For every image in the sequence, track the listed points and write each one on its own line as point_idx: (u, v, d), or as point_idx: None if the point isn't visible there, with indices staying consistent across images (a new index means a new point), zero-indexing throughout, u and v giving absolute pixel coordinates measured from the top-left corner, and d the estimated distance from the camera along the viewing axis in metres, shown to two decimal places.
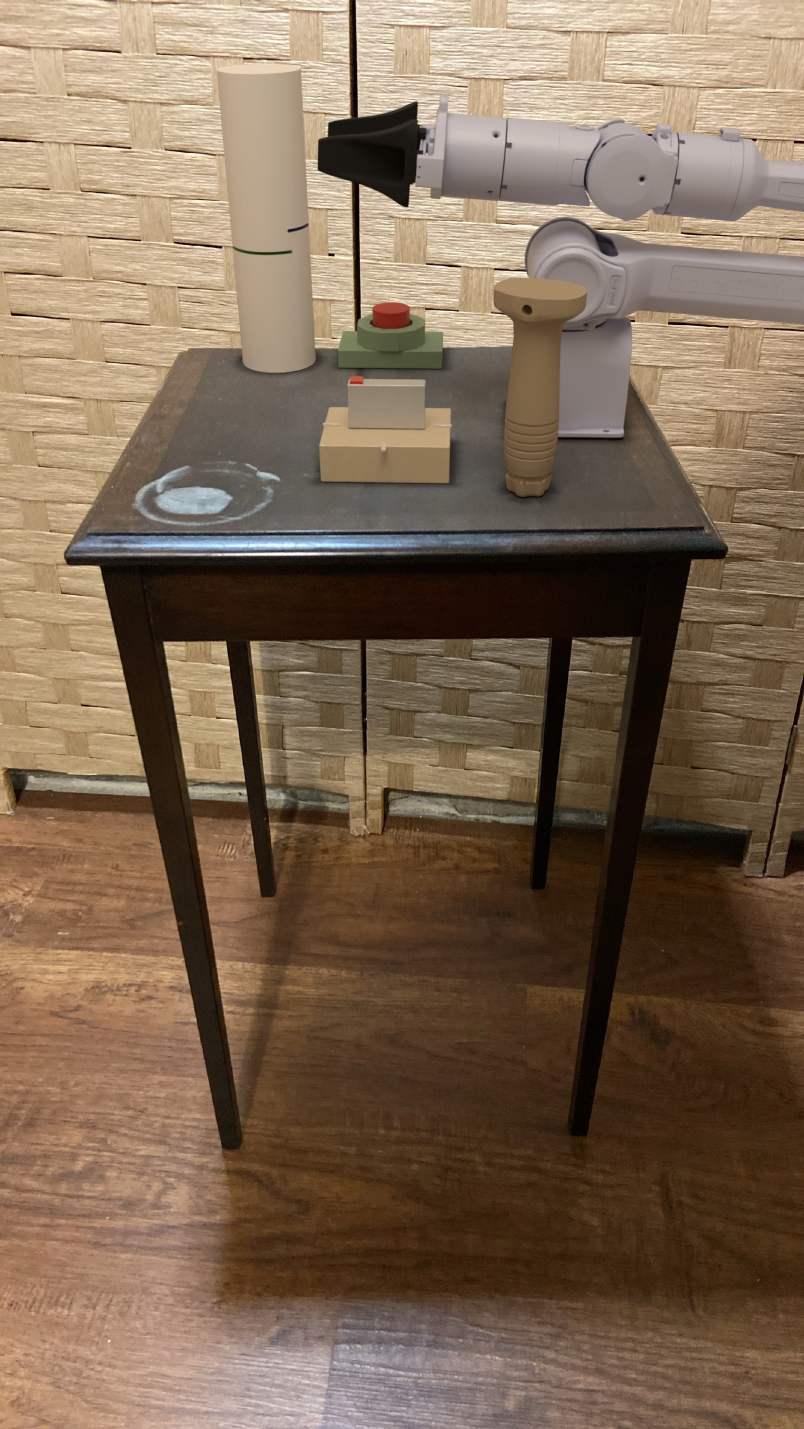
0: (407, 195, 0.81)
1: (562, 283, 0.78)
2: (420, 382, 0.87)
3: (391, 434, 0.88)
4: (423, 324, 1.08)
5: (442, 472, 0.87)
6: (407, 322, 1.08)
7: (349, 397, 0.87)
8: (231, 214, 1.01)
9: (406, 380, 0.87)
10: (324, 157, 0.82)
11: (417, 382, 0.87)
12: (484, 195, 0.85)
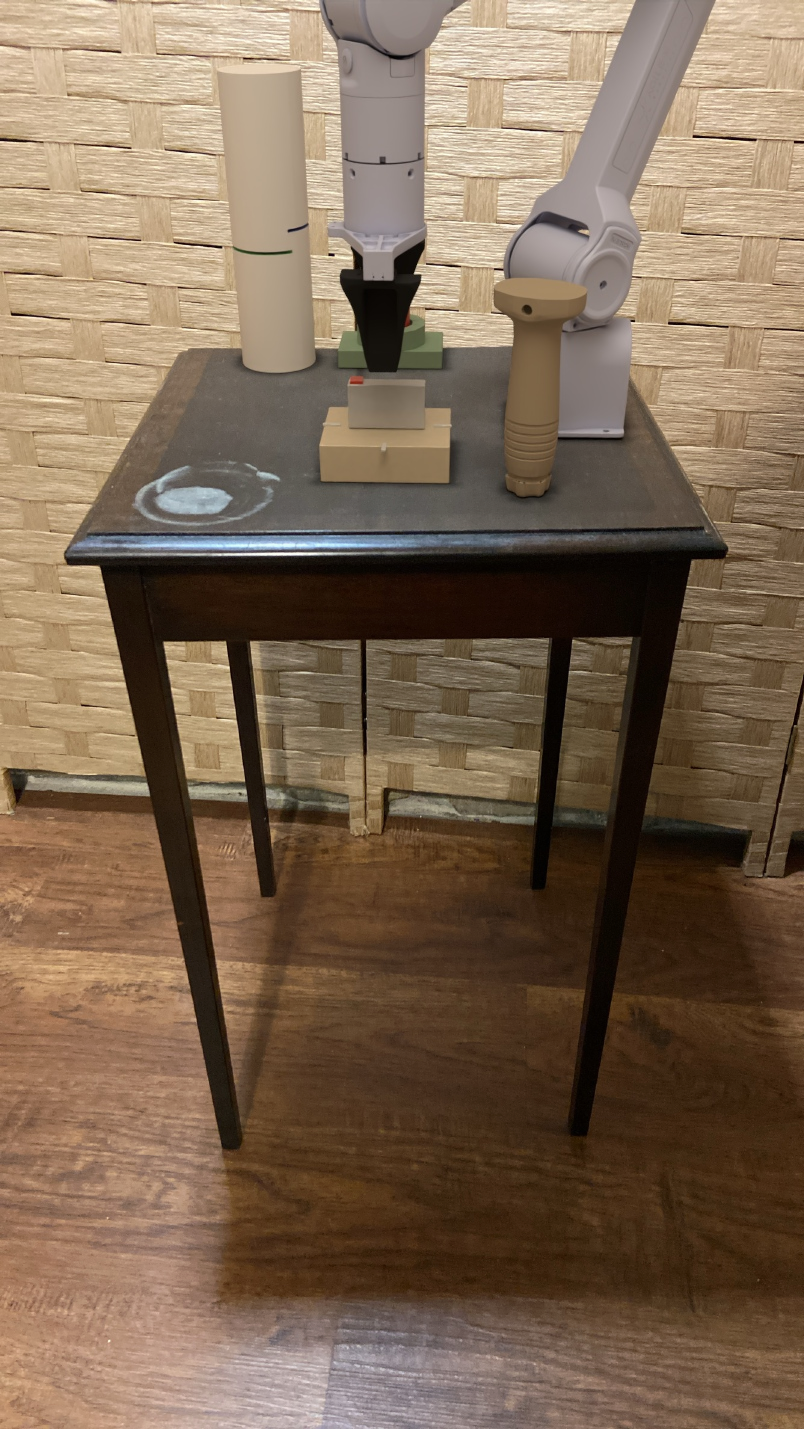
0: (406, 284, 0.76)
1: (562, 283, 0.78)
2: (420, 382, 0.87)
3: (391, 434, 0.88)
4: (423, 324, 1.08)
5: (442, 472, 0.87)
6: (407, 322, 1.08)
7: (349, 397, 0.87)
8: (231, 214, 1.01)
9: (406, 380, 0.87)
10: (383, 365, 0.82)
11: (417, 382, 0.87)
12: (415, 179, 0.77)
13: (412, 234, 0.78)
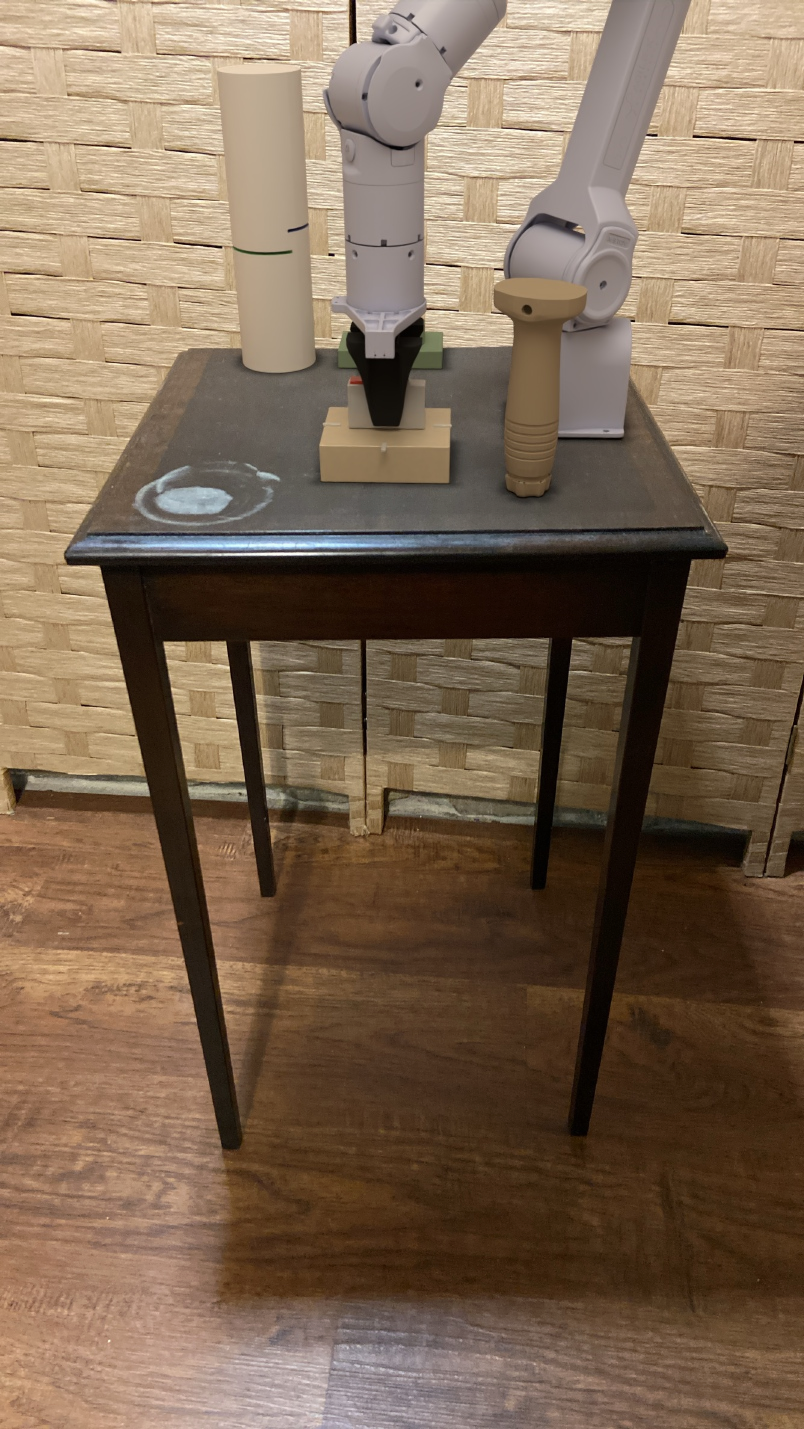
0: (408, 348, 0.82)
1: (562, 283, 0.78)
2: (420, 382, 0.87)
3: (391, 434, 0.88)
4: None
5: (442, 472, 0.87)
6: None
7: (349, 397, 0.87)
8: (231, 214, 1.01)
9: None
10: (387, 420, 0.87)
11: (417, 382, 0.87)
12: (415, 259, 0.80)
13: (412, 311, 0.81)
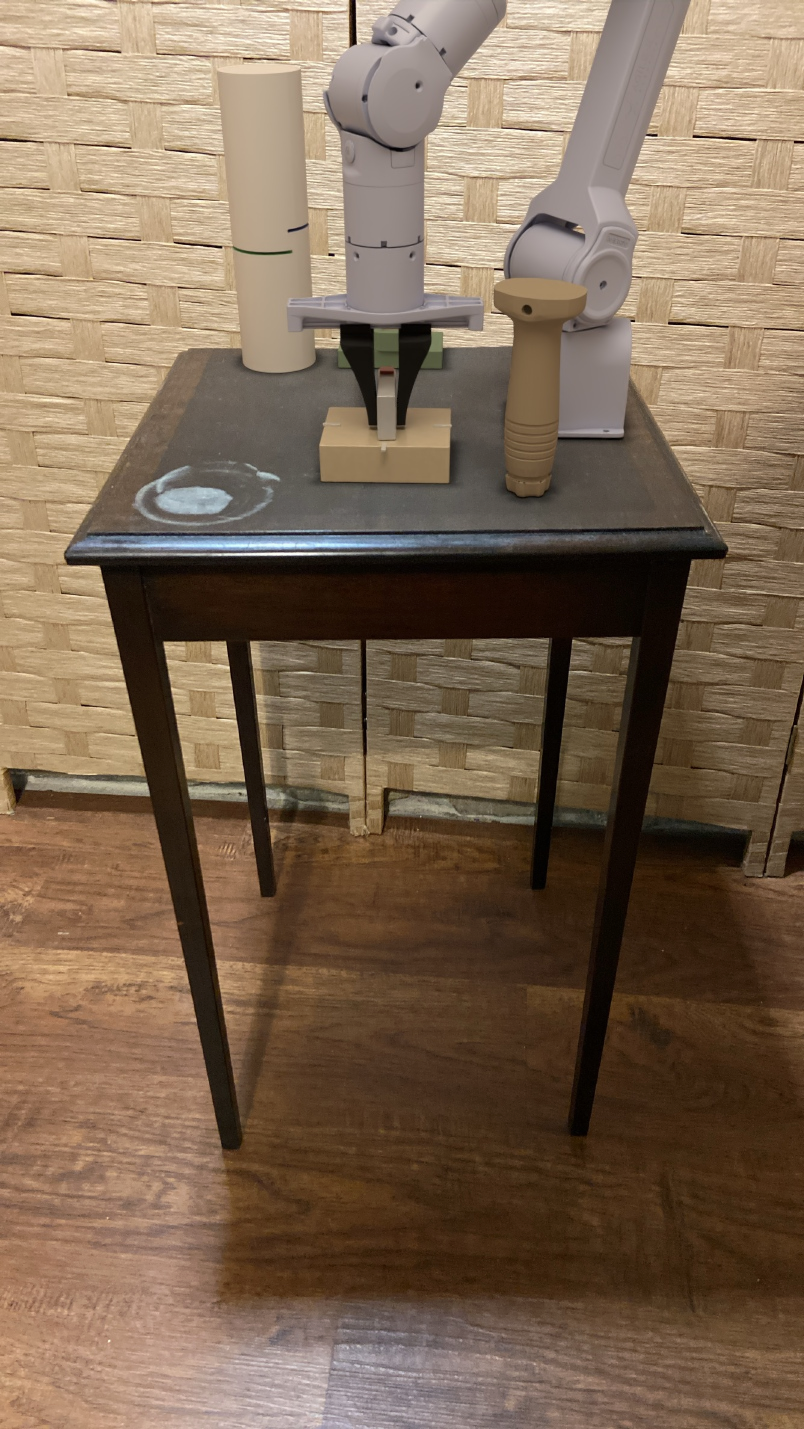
0: None
1: (562, 283, 0.78)
2: (384, 394, 0.85)
3: None
4: None
5: (442, 472, 0.87)
6: None
7: None
8: (231, 214, 1.01)
9: (391, 389, 0.86)
10: None
11: (384, 393, 0.85)
12: (359, 262, 0.79)
13: (347, 310, 0.82)
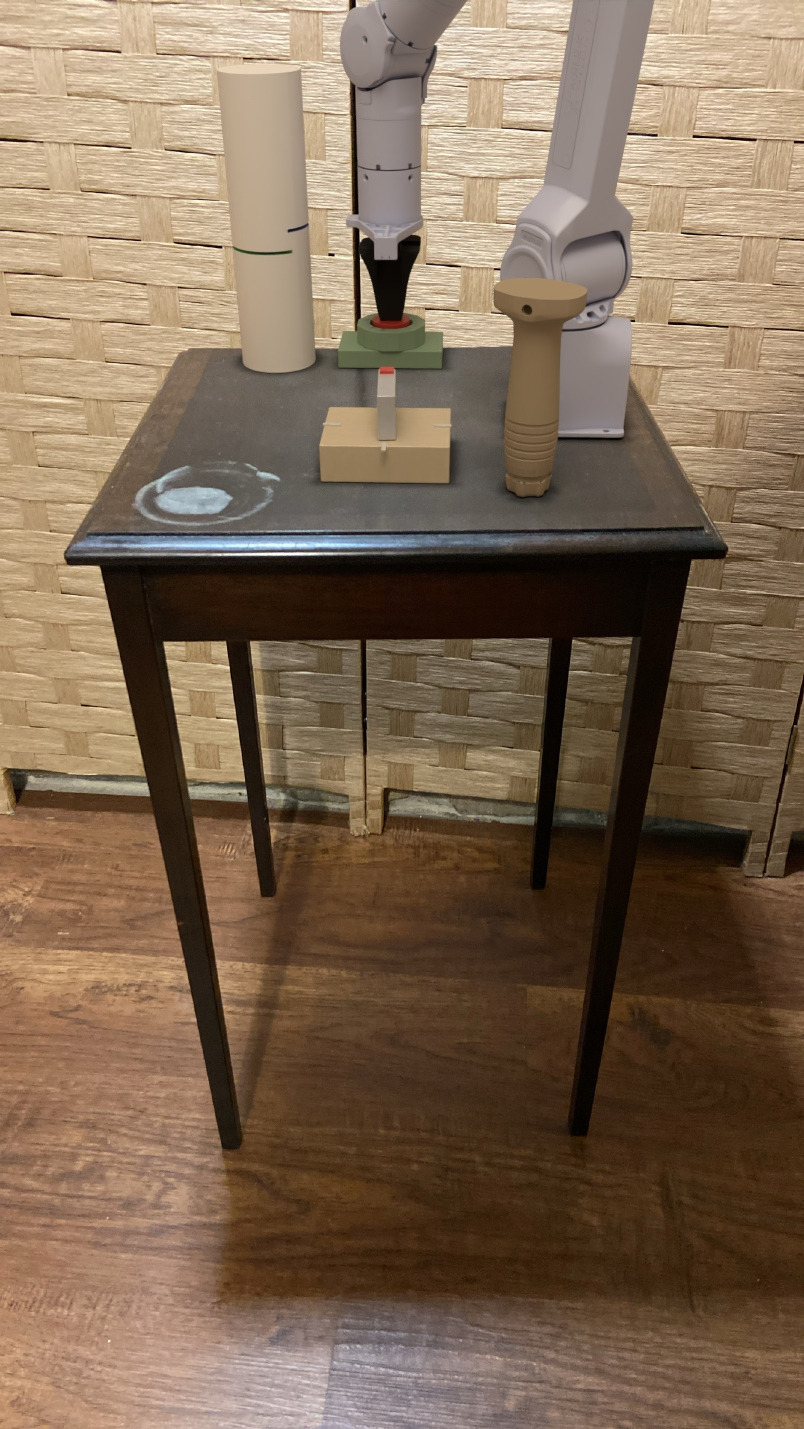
0: (408, 252, 1.02)
1: (562, 283, 0.78)
2: (384, 394, 0.85)
3: None
4: (423, 324, 1.08)
5: (442, 472, 0.87)
6: None
7: None
8: (231, 214, 1.01)
9: (391, 389, 0.86)
10: (391, 315, 1.08)
11: (384, 393, 0.85)
12: (413, 182, 1.00)
13: (411, 224, 1.01)
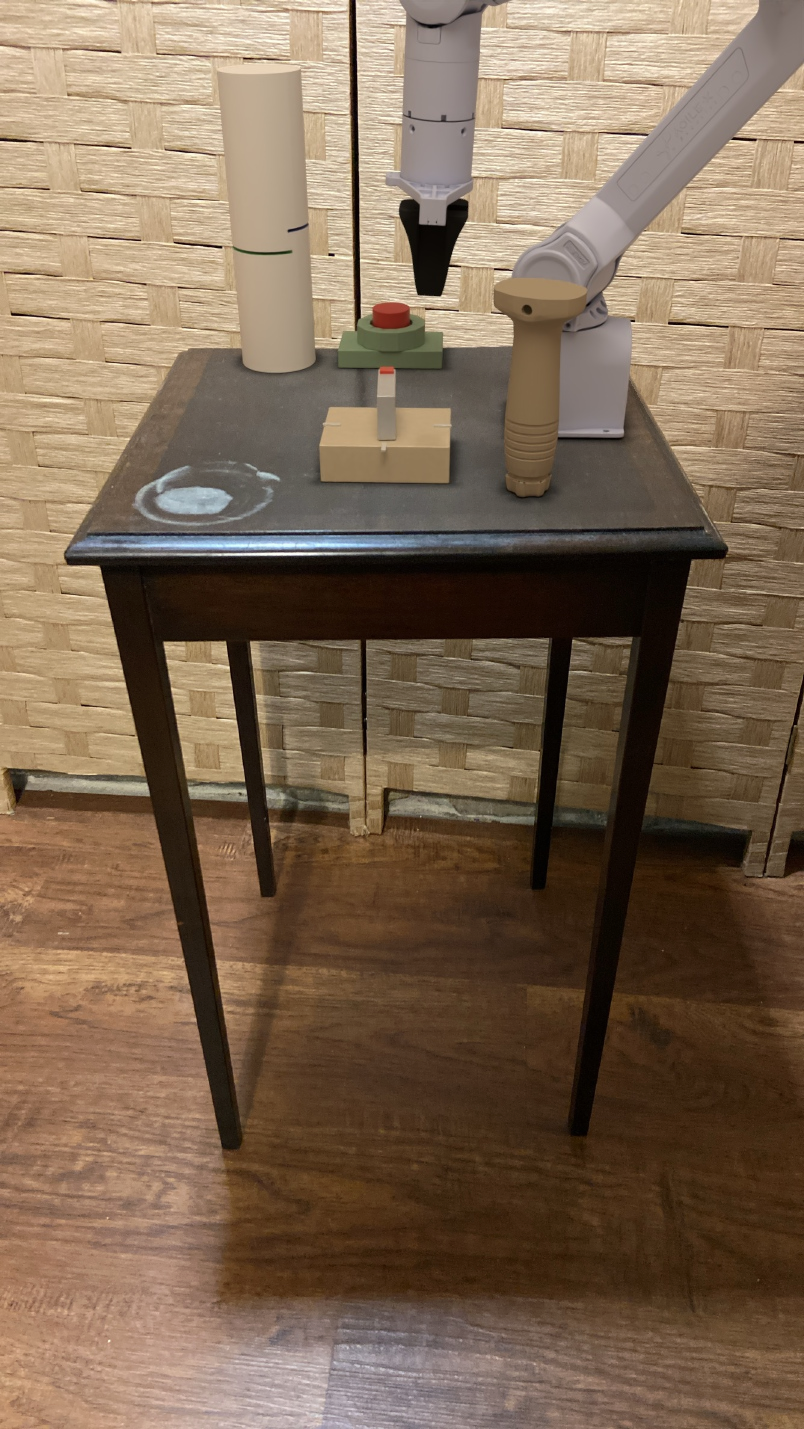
0: (456, 218, 0.90)
1: (562, 283, 0.78)
2: (384, 394, 0.85)
3: None
4: (423, 324, 1.08)
5: (442, 472, 0.87)
6: (407, 322, 1.08)
7: None
8: (231, 214, 1.01)
9: (391, 389, 0.86)
10: (430, 290, 0.95)
11: (384, 393, 0.85)
12: (466, 136, 0.87)
13: (461, 186, 0.88)
